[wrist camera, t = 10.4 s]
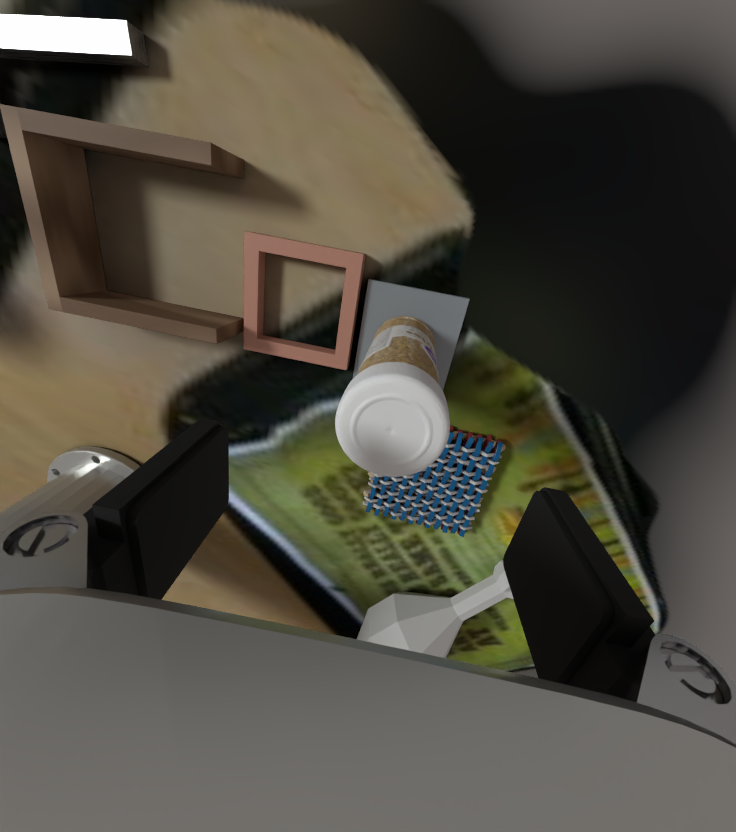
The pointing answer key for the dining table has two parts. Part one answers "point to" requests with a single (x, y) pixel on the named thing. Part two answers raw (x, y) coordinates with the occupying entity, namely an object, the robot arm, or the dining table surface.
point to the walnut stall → (75, 221)
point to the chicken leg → (430, 616)
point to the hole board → (254, 298)
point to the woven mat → (440, 485)
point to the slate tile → (424, 305)
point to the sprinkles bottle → (395, 403)
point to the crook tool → (70, 42)
